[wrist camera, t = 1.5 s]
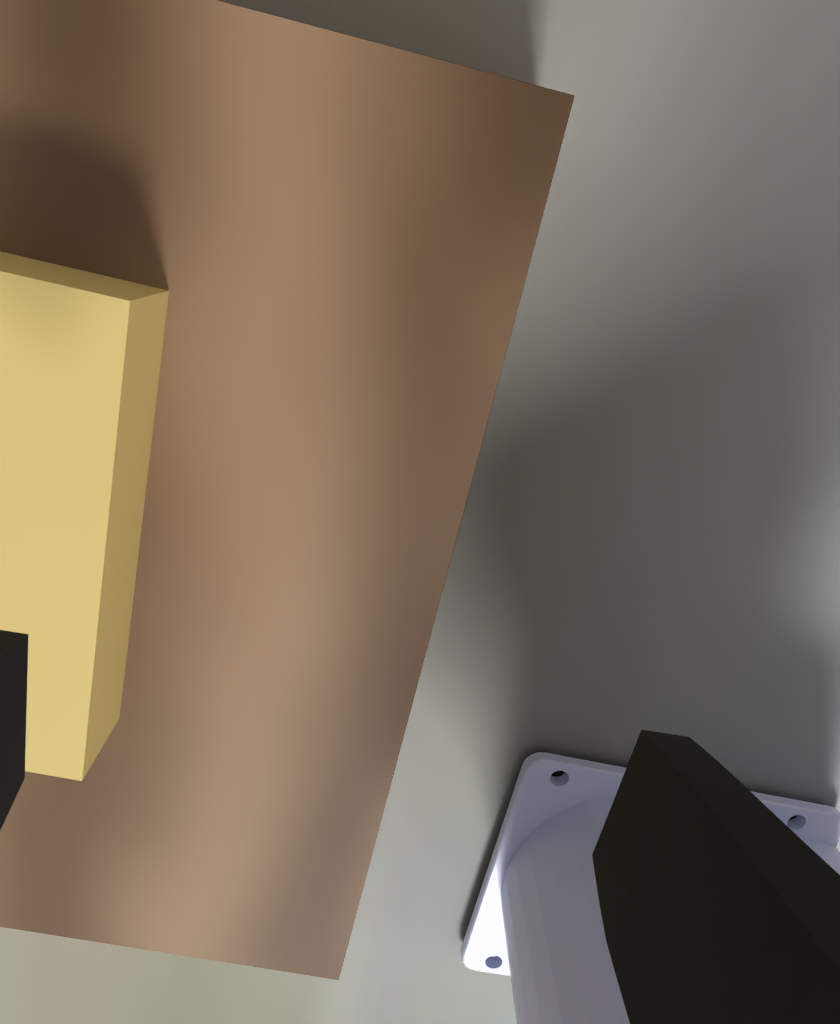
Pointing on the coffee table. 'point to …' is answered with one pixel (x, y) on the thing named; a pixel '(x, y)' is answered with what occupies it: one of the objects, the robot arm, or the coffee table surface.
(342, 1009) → the coffee table surface
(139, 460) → the yellow rectangular block
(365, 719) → the deck
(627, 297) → the coffee table surface
